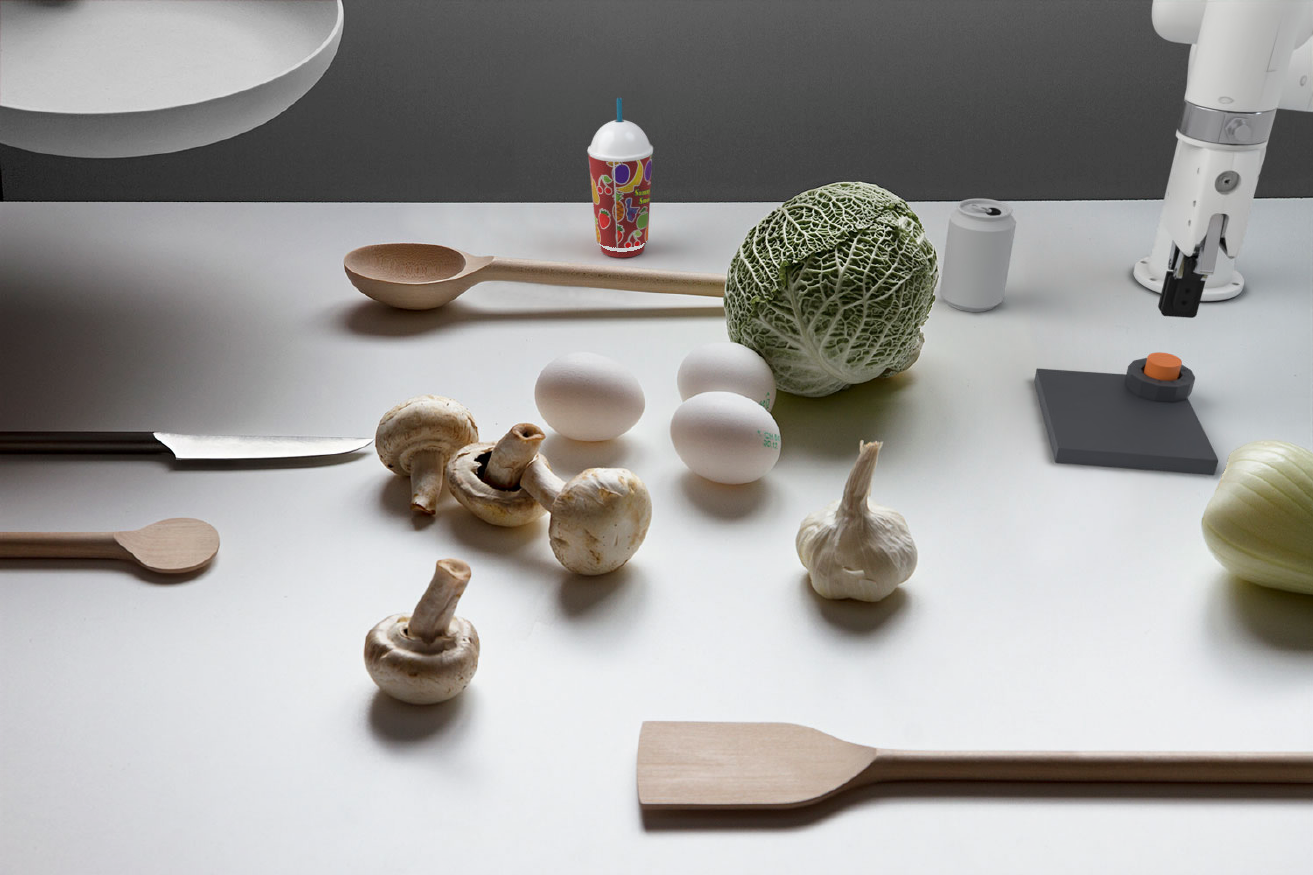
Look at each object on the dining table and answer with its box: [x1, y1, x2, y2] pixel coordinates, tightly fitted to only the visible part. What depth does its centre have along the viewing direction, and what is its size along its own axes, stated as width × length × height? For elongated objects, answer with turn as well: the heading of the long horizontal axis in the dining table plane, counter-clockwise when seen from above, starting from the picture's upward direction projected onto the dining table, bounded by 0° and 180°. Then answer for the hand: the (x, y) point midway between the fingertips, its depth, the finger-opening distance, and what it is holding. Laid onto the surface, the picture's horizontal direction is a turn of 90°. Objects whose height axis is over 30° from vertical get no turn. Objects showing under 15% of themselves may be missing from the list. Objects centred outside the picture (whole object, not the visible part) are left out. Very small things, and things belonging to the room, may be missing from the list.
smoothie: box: [587, 97, 654, 259], centre depth 146 cm, size 8×8×20 cm
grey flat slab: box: [1033, 357, 1219, 476], centre depth 110 cm, size 17×14×4 cm
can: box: [939, 198, 1017, 313], centre depth 133 cm, size 8×8×12 cm
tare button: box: [1144, 351, 1183, 381], centre depth 113 cm, size 3×3×2 cm
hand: (1176, 313), depth 109 cm, fingers closed
